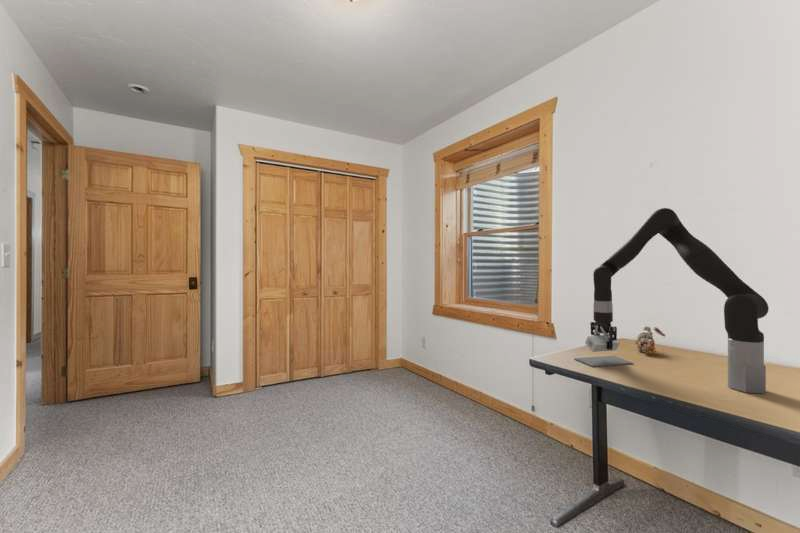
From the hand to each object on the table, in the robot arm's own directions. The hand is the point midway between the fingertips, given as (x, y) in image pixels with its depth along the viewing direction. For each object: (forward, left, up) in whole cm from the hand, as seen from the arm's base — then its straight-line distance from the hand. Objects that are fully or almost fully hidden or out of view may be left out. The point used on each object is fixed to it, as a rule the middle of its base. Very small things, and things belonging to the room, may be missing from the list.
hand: (603, 347), depth 165 cm
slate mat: (0, 0, -6) cm, 6 cm away
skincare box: (-2, +6, +2) cm, 7 cm away
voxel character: (+20, -28, -7) cm, 35 cm away
